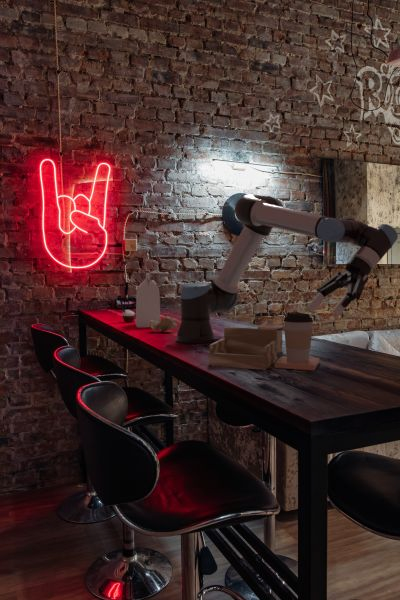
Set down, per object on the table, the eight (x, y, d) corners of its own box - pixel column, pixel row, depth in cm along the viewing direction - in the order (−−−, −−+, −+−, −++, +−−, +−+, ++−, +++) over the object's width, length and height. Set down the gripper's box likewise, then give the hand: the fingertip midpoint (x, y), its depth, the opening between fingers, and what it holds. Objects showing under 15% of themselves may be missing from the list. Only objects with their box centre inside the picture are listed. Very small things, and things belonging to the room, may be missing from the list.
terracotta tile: (281, 360, 175) (281, 356, 175) (319, 362, 172) (319, 358, 171) (274, 367, 164) (274, 362, 164) (314, 370, 160) (314, 365, 160)
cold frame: (224, 355, 184) (225, 327, 183) (276, 359, 178) (277, 329, 177) (208, 365, 167) (208, 334, 166) (265, 369, 161) (265, 336, 160)
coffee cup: (313, 358, 171) (314, 311, 170) (311, 363, 162) (312, 314, 161) (284, 357, 173) (285, 311, 172) (281, 362, 164) (281, 313, 163)
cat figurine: (149, 318, 247) (174, 310, 246) (154, 331, 249) (178, 324, 249) (148, 325, 239) (174, 317, 238) (153, 339, 242) (179, 331, 241)
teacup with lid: (287, 353, 190) (287, 320, 189) (263, 354, 187) (263, 321, 186) (273, 347, 201) (273, 316, 200) (250, 348, 199) (250, 317, 198)
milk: (135, 324, 272) (135, 273, 270) (158, 323, 274) (157, 273, 272) (137, 327, 260) (136, 273, 258) (160, 326, 263) (160, 273, 261)
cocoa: (136, 322, 286) (136, 299, 286) (137, 322, 280) (137, 300, 279) (118, 321, 284) (118, 299, 283) (118, 322, 278) (119, 299, 277)
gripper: (395, 273, 163) (353, 324, 159) (344, 271, 187) (307, 315, 182) (381, 255, 161) (339, 306, 157) (332, 255, 184) (294, 300, 180)
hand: (322, 311), depth 169 cm, fingers open, 13 cm apart
